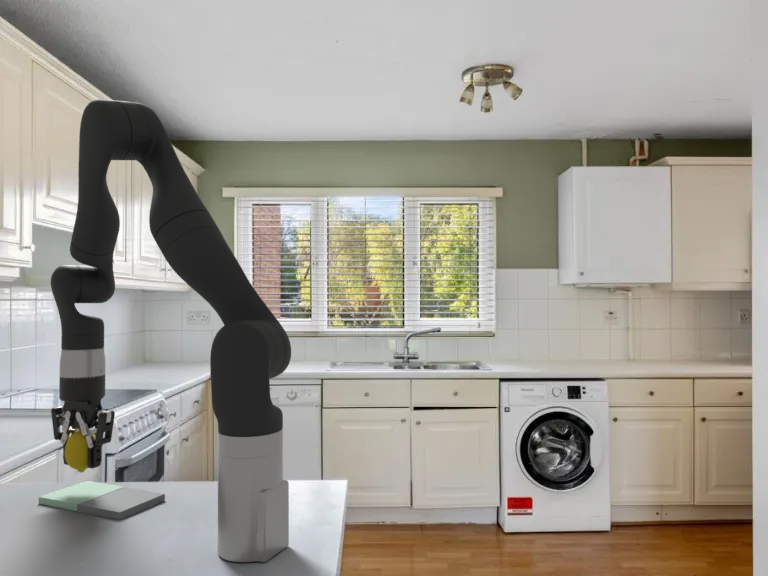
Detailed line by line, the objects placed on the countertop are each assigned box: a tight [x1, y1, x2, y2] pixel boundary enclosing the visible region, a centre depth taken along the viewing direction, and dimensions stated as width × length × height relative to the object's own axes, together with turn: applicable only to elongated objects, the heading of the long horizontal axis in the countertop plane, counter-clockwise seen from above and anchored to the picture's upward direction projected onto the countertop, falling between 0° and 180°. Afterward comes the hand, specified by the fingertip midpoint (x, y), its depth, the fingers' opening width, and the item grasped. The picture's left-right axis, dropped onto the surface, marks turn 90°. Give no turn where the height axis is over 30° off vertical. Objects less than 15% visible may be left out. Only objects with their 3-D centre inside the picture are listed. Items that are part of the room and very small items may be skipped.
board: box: [38, 480, 166, 520], centre depth 104 cm, size 20×10×1 cm, turn 66°
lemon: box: [65, 430, 96, 474], centre depth 106 cm, size 6×6×8 cm
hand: (81, 465), depth 106 cm, fingers closed on lemon, 5 cm apart
